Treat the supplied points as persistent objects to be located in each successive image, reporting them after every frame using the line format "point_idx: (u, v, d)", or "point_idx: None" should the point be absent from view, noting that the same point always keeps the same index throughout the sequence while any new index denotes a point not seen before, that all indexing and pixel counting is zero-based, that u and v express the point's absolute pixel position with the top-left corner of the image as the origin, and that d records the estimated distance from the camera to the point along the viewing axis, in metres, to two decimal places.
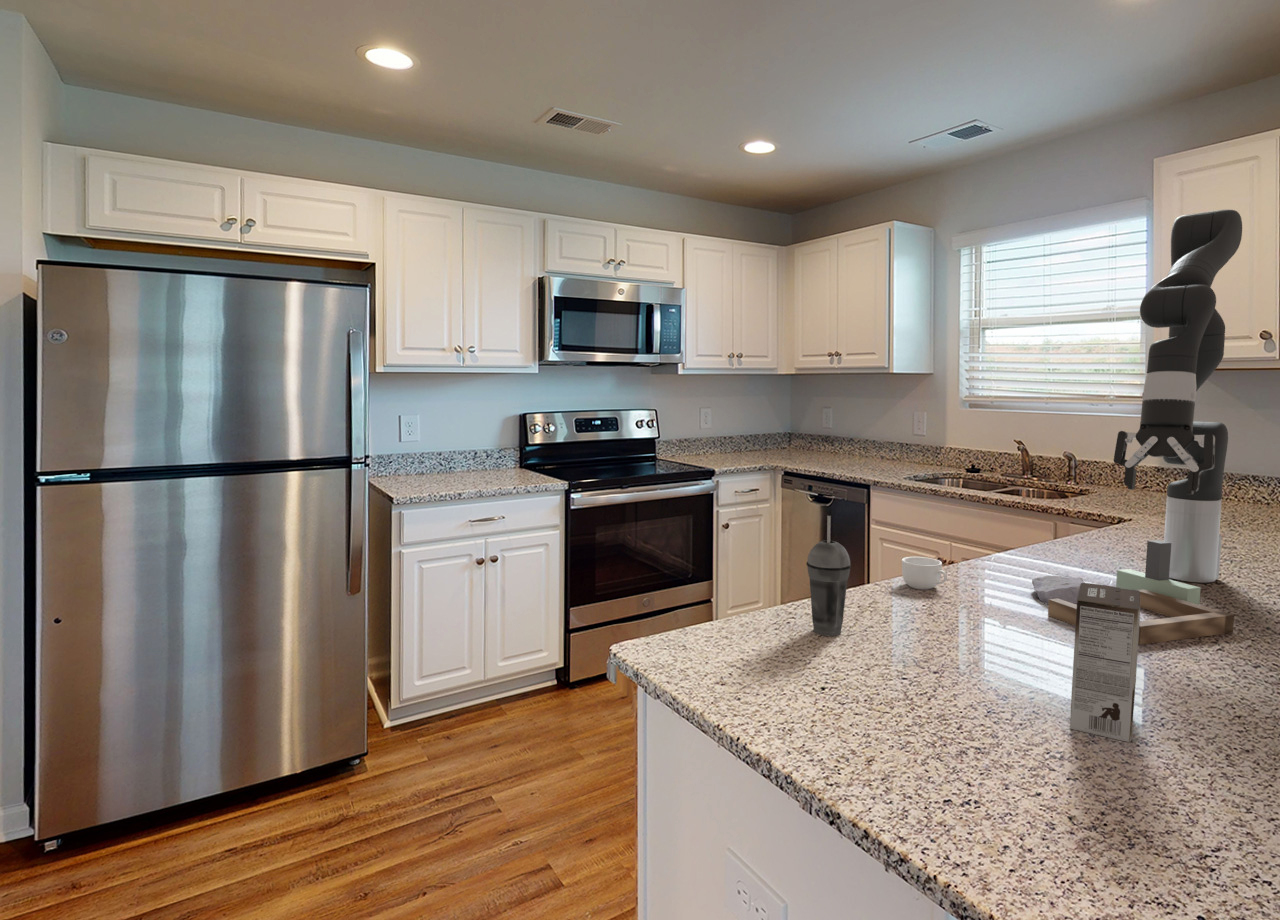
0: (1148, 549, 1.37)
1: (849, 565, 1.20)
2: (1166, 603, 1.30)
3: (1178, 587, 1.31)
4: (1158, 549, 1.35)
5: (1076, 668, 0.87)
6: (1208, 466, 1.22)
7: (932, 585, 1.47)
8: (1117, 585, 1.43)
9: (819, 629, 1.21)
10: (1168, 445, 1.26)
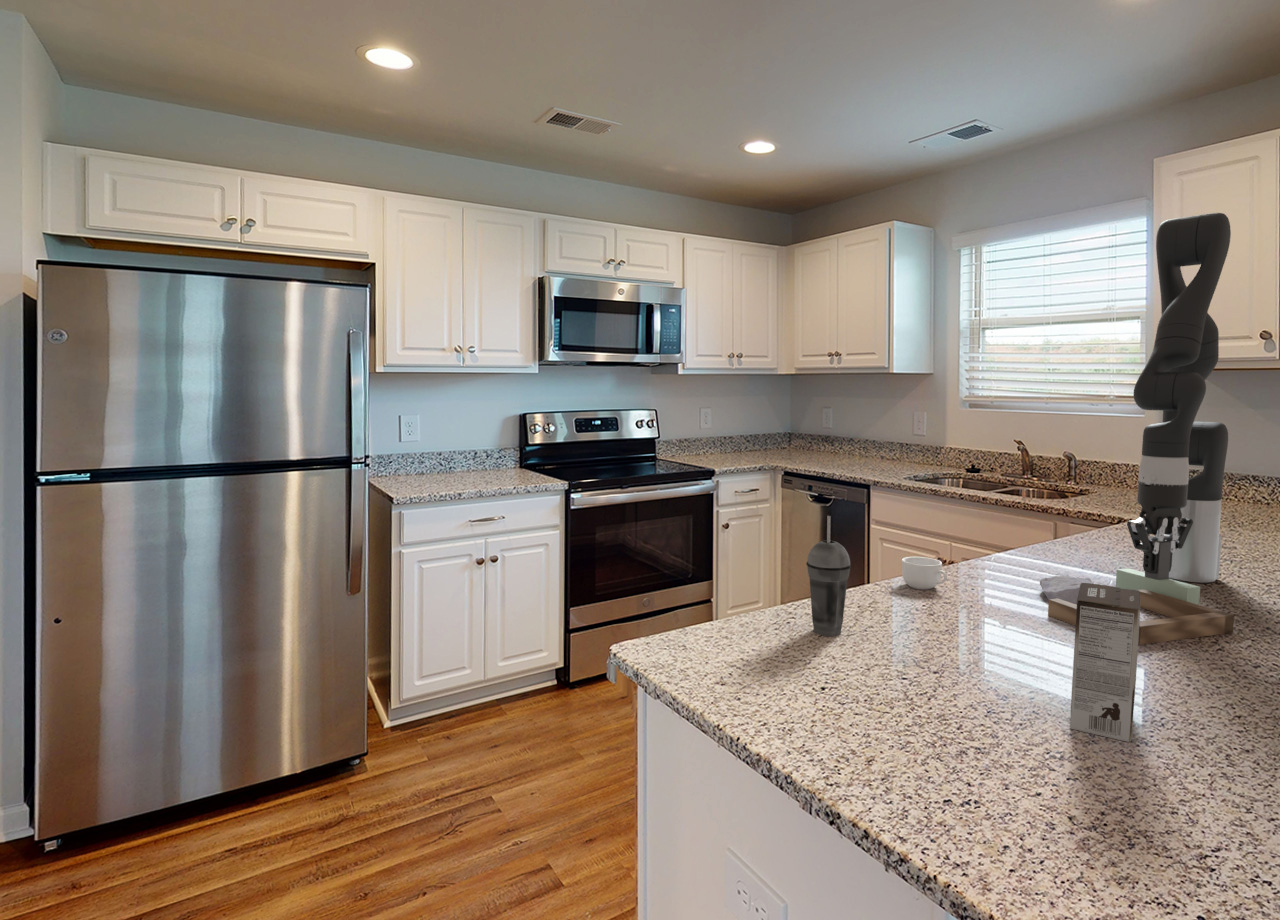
0: None
1: (849, 565, 1.20)
2: (1166, 603, 1.30)
3: (1178, 586, 1.31)
4: None
5: (1076, 668, 0.87)
6: (1180, 546, 1.36)
7: (932, 585, 1.47)
8: (1117, 584, 1.43)
9: (819, 629, 1.21)
10: (1168, 524, 1.35)
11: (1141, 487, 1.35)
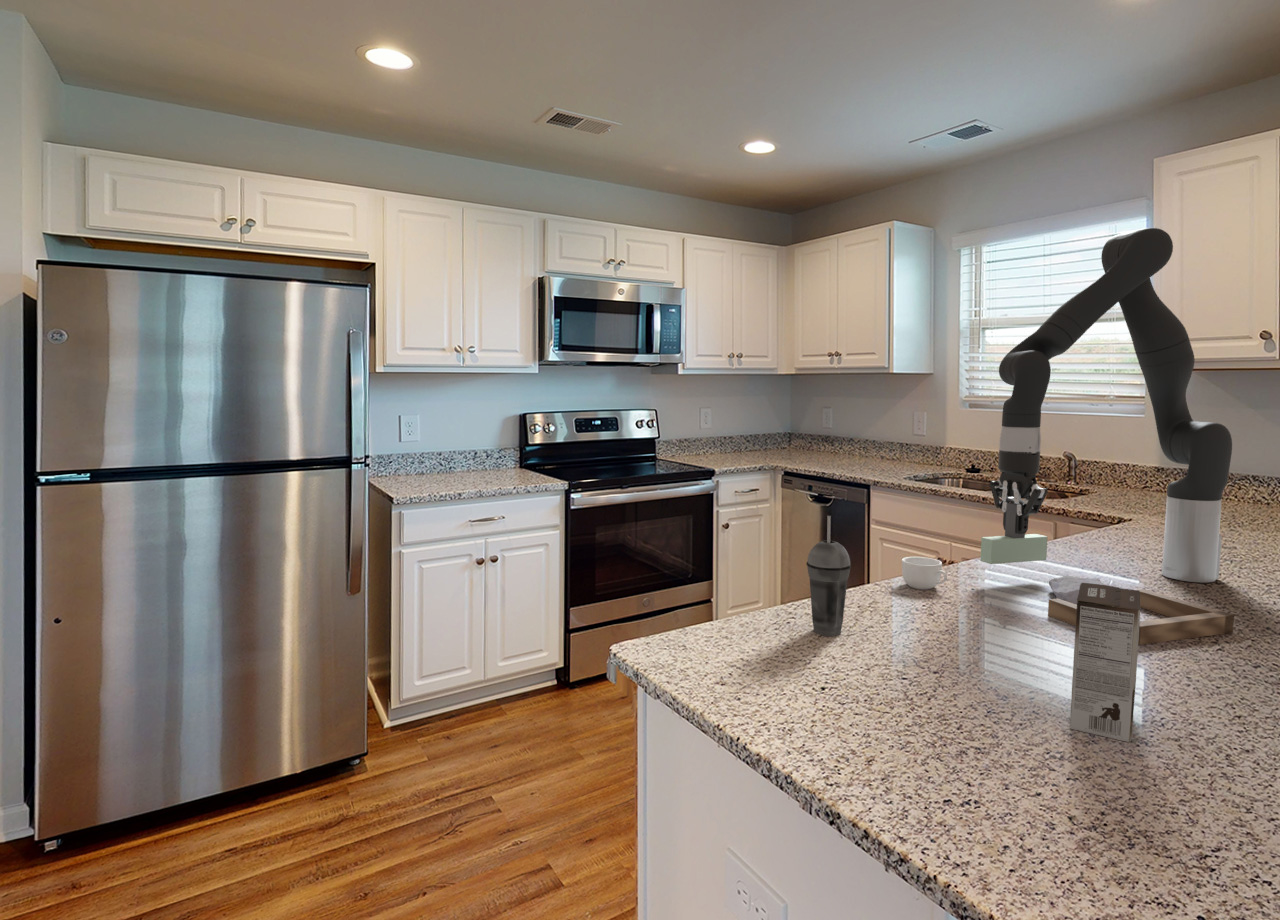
0: None
1: (849, 565, 1.20)
2: (1166, 603, 1.30)
3: (1040, 537, 1.51)
4: None
5: (1076, 668, 0.87)
6: None
7: (932, 585, 1.47)
8: (992, 554, 1.48)
9: (819, 629, 1.21)
10: None
11: (1027, 457, 1.46)
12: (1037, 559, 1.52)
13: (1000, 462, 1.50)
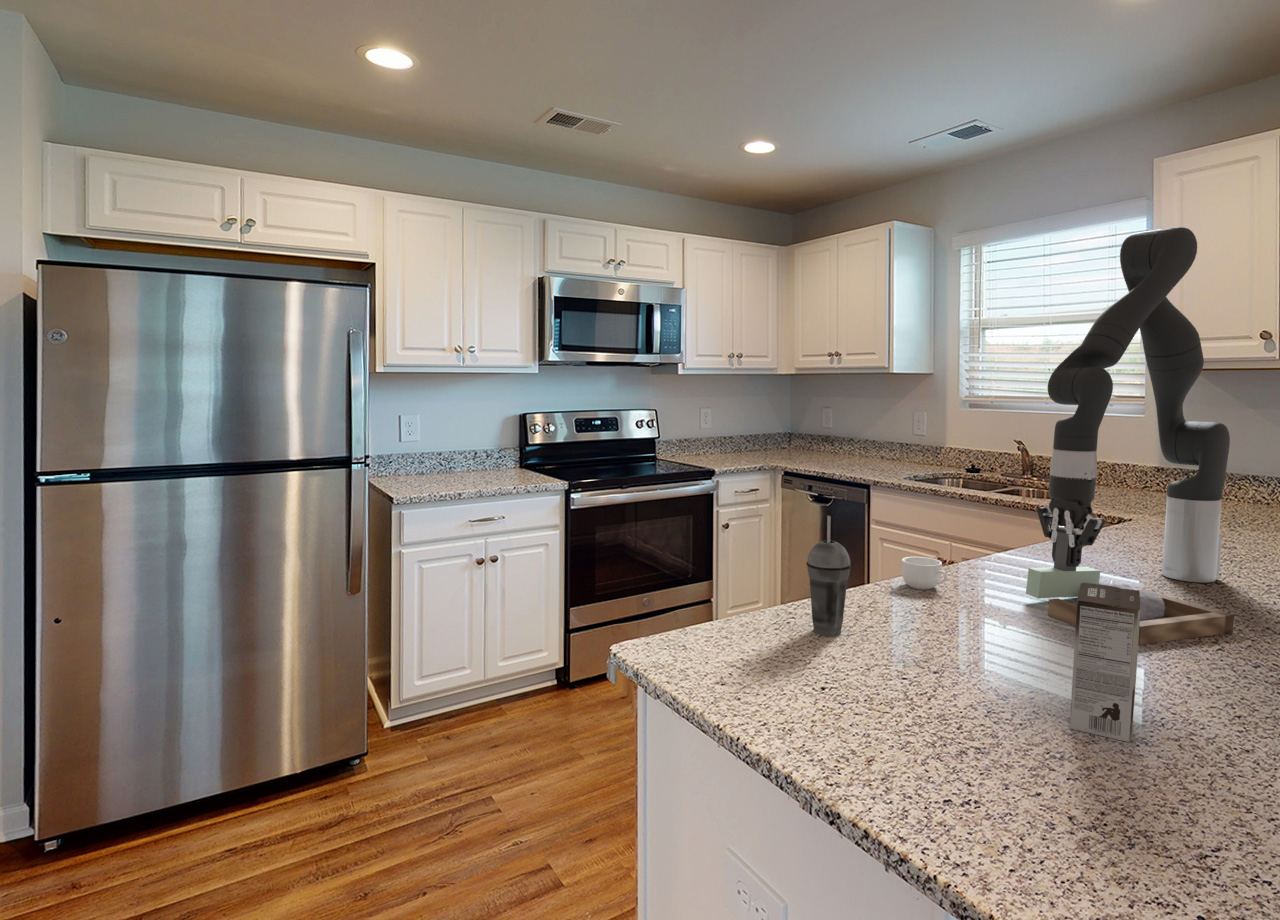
0: None
1: (849, 565, 1.20)
2: (1166, 603, 1.30)
3: (1093, 571, 1.39)
4: None
5: (1076, 668, 0.87)
6: None
7: (932, 585, 1.47)
8: (1040, 587, 1.36)
9: (819, 629, 1.21)
10: None
11: (1083, 483, 1.33)
12: None
13: (1051, 488, 1.37)
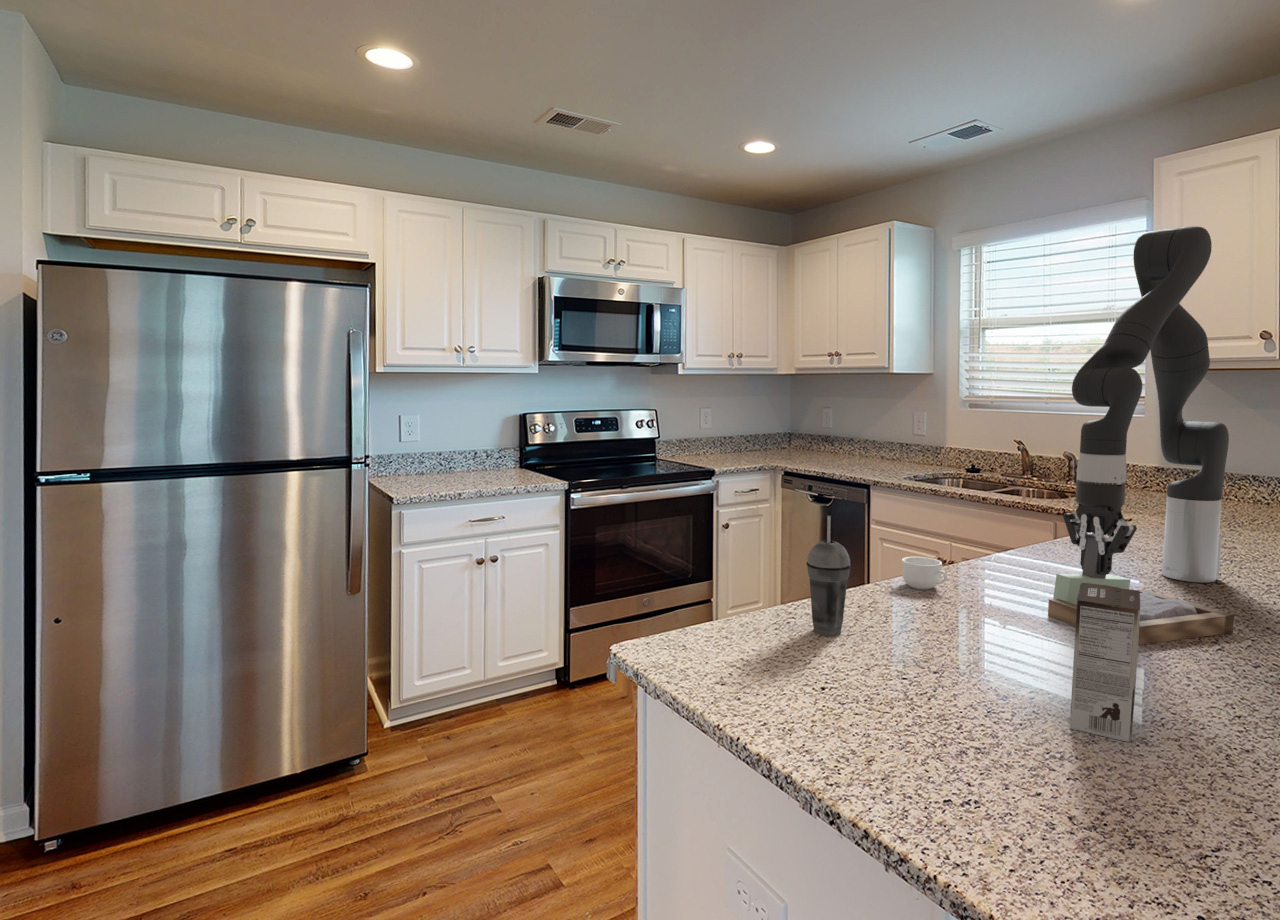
0: None
1: (849, 565, 1.20)
2: None
3: (1123, 580, 1.33)
4: None
5: (1076, 668, 0.87)
6: None
7: (932, 585, 1.47)
8: (1069, 594, 1.30)
9: (819, 629, 1.21)
10: None
11: (1112, 488, 1.28)
12: None
13: (1079, 494, 1.32)
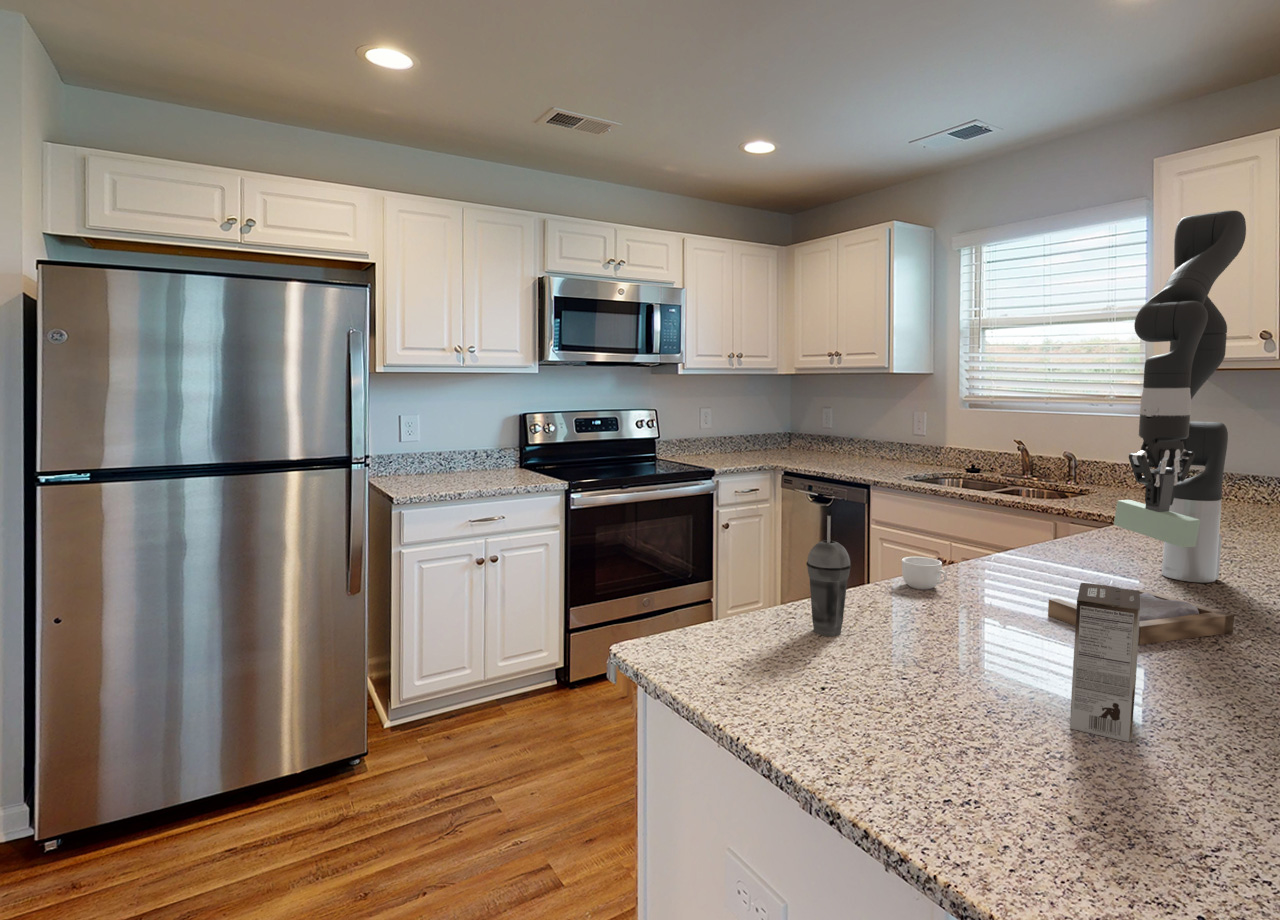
0: None
1: (849, 565, 1.20)
2: None
3: (1178, 519, 1.31)
4: (1161, 481, 1.33)
5: (1076, 668, 0.87)
6: (1182, 479, 1.35)
7: (932, 585, 1.47)
8: (1116, 515, 1.42)
9: (819, 629, 1.21)
10: (1170, 456, 1.34)
11: (1143, 420, 1.34)
12: (1170, 542, 1.32)
13: None
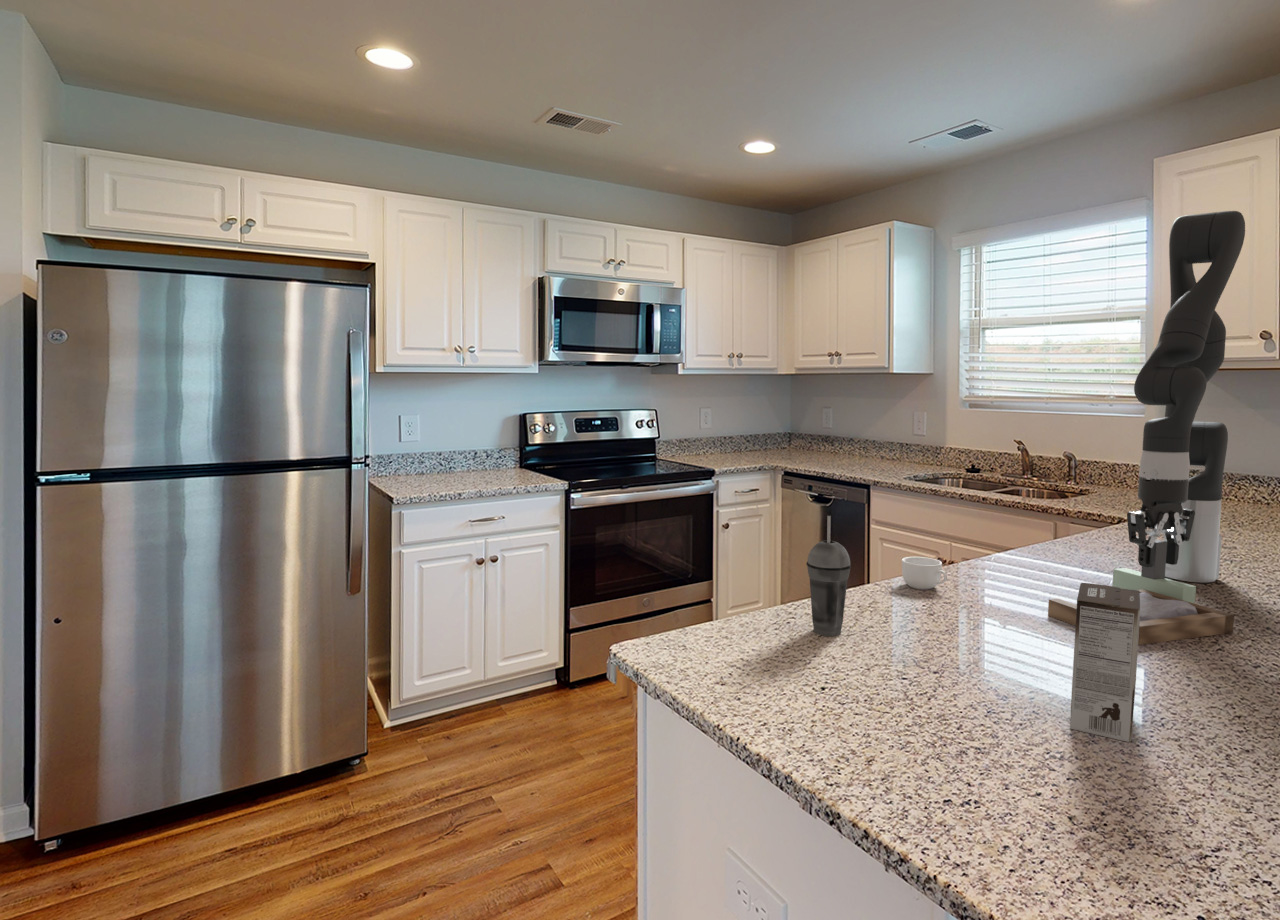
0: None
1: (849, 565, 1.20)
2: None
3: (1174, 586, 1.32)
4: (1154, 548, 1.35)
5: (1076, 668, 0.87)
6: (1187, 539, 1.36)
7: (932, 585, 1.47)
8: (1113, 584, 1.44)
9: (819, 629, 1.21)
10: (1169, 519, 1.35)
11: (1142, 482, 1.35)
12: None
13: None
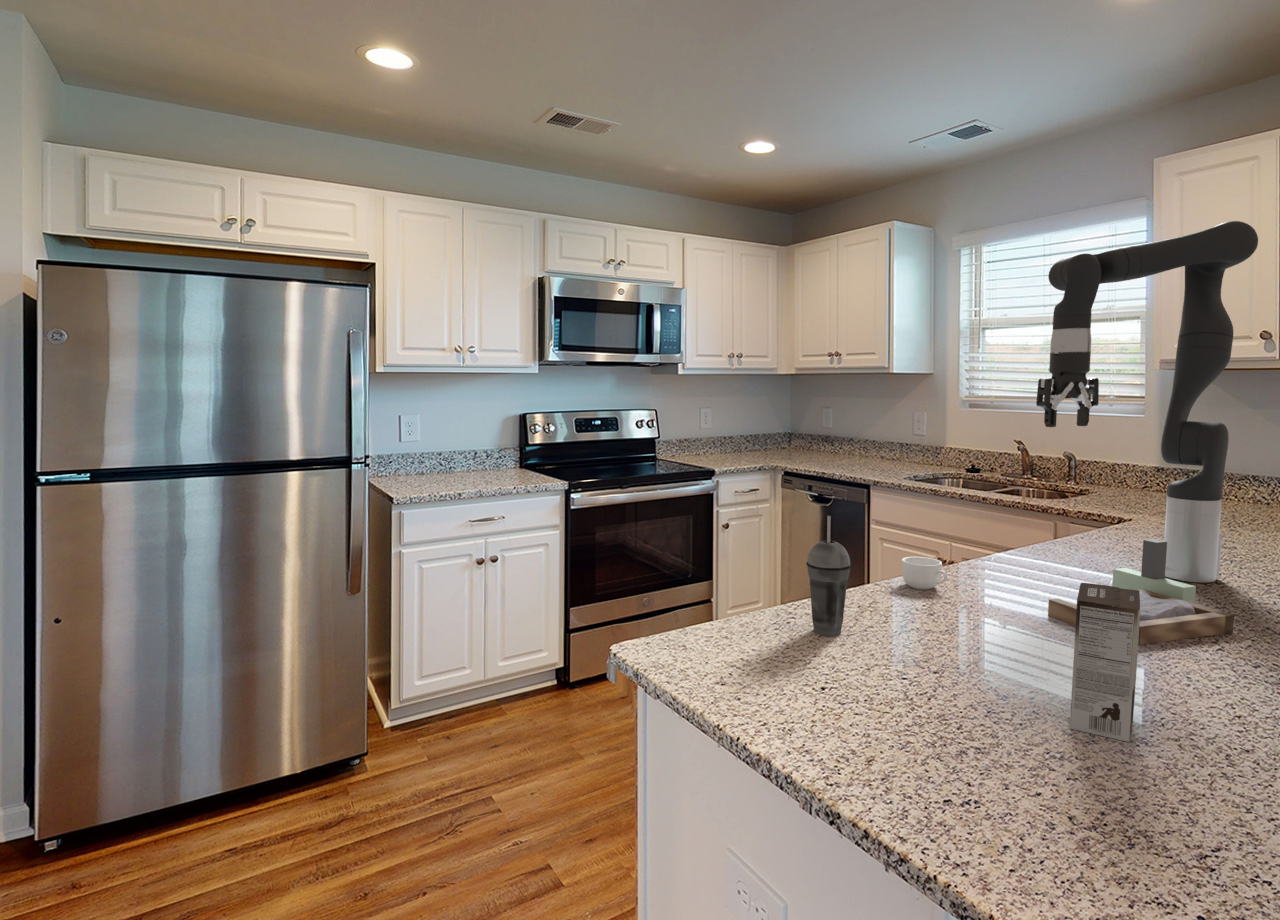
0: (1144, 548, 1.37)
1: (849, 565, 1.20)
2: None
3: (1174, 586, 1.32)
4: (1154, 549, 1.35)
5: (1076, 668, 0.87)
6: (1096, 403, 1.57)
7: (932, 585, 1.47)
8: (1113, 584, 1.44)
9: (819, 629, 1.21)
10: (1075, 388, 1.56)
11: (1051, 357, 1.56)
12: None
13: None
